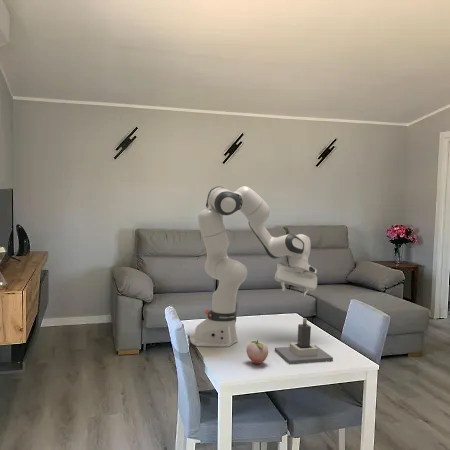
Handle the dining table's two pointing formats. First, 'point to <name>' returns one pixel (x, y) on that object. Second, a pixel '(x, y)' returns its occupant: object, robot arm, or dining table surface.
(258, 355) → the decorative fruit
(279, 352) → the socket
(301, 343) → the plug
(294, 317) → the dining table surface
